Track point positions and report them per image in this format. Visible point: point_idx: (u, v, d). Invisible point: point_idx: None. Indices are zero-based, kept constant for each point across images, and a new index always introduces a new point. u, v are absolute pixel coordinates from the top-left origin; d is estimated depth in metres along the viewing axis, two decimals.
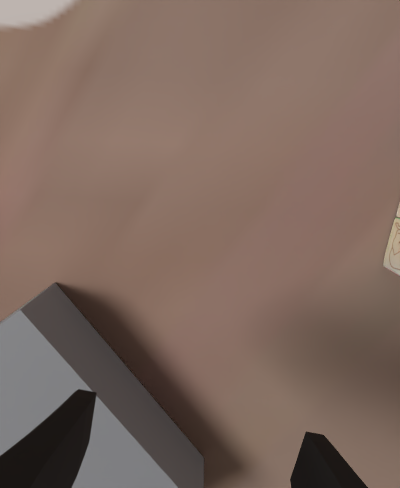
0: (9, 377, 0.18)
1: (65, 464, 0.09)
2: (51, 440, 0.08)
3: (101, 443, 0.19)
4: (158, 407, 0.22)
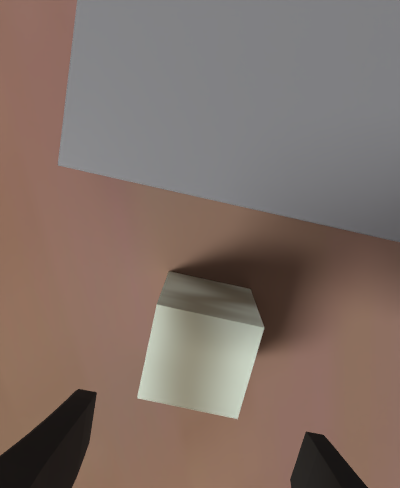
0: None
1: (65, 464, 0.09)
2: (51, 440, 0.08)
3: None
4: None
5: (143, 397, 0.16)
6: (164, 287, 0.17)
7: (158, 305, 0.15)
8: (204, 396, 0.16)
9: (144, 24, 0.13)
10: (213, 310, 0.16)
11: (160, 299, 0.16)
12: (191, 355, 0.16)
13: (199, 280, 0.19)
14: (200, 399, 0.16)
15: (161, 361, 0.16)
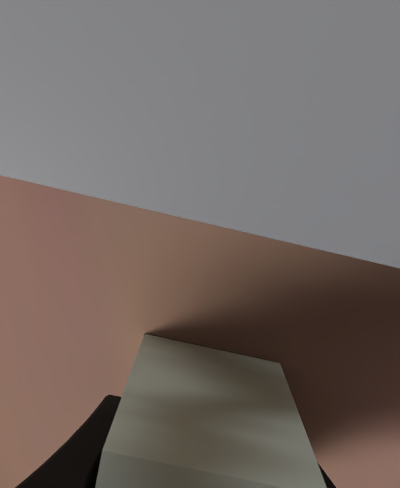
0: None
1: None
2: (91, 447, 0.08)
3: None
4: None
5: None
6: (129, 384, 0.09)
7: (106, 452, 0.07)
8: None
9: None
10: (223, 450, 0.08)
11: (114, 428, 0.08)
12: None
13: (195, 353, 0.11)
14: None
15: None
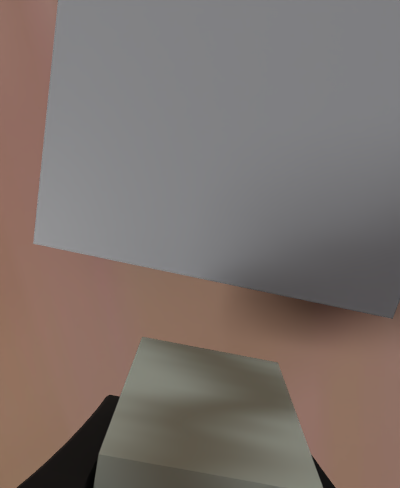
0: None
1: None
2: (92, 447, 0.08)
3: None
4: None
5: None
6: (126, 387, 0.09)
7: (102, 455, 0.07)
8: None
9: (118, 106, 0.13)
10: (219, 450, 0.08)
11: (110, 432, 0.08)
12: None
13: (192, 355, 0.11)
14: None
15: None
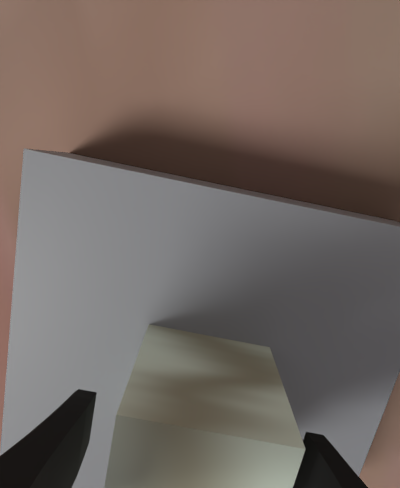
0: (83, 245, 0.13)
1: (65, 464, 0.09)
2: (51, 440, 0.08)
3: (246, 242, 0.13)
4: (289, 199, 0.16)
5: None
6: (136, 365, 0.11)
7: (119, 416, 0.09)
8: None
9: (68, 395, 0.14)
10: (216, 414, 0.09)
11: (125, 398, 0.09)
12: None
13: (193, 340, 0.13)
14: None
15: None
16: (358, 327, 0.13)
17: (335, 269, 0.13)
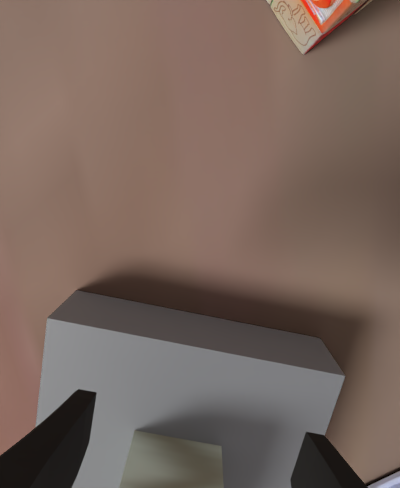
0: (88, 378, 0.18)
1: (65, 464, 0.09)
2: (51, 440, 0.08)
3: (202, 377, 0.18)
4: (241, 324, 0.21)
5: None
6: (124, 475, 0.16)
7: None
8: None
9: (76, 477, 0.20)
10: None
11: None
12: None
13: (166, 444, 0.18)
14: None
15: None
16: (283, 433, 0.19)
17: (265, 395, 0.18)
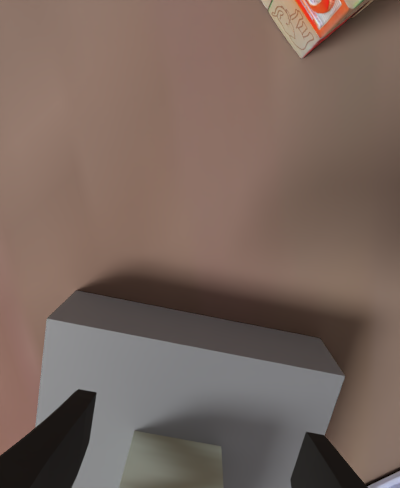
0: (88, 378, 0.18)
1: (65, 464, 0.09)
2: (51, 440, 0.08)
3: (202, 378, 0.18)
4: (241, 324, 0.21)
5: None
6: (123, 475, 0.16)
7: None
8: None
9: (76, 478, 0.20)
10: None
11: None
12: None
13: (165, 444, 0.18)
14: None
15: None
16: (283, 433, 0.19)
17: (265, 396, 0.18)
